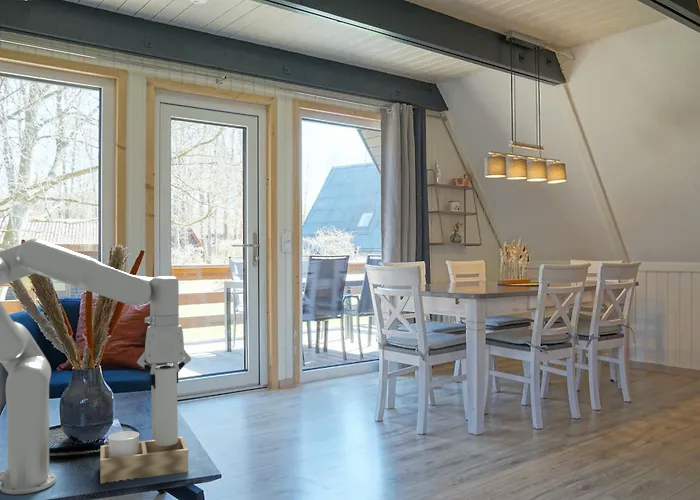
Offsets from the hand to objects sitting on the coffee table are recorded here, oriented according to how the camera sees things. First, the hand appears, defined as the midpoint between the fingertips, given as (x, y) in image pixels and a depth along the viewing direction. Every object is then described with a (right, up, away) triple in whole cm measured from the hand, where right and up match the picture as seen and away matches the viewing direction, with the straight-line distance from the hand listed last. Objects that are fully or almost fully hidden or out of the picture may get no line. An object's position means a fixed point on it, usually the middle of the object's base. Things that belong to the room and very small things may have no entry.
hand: (164, 386), depth 167 cm
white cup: (-10, -23, -4) cm, 25 cm away
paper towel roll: (0, -16, +1) cm, 16 cm away
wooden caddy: (-5, -22, -2) cm, 23 cm away
